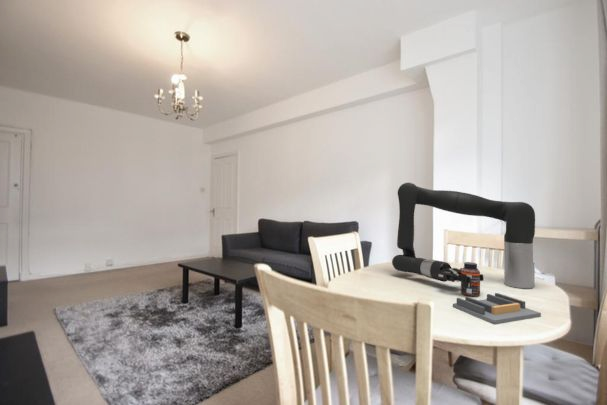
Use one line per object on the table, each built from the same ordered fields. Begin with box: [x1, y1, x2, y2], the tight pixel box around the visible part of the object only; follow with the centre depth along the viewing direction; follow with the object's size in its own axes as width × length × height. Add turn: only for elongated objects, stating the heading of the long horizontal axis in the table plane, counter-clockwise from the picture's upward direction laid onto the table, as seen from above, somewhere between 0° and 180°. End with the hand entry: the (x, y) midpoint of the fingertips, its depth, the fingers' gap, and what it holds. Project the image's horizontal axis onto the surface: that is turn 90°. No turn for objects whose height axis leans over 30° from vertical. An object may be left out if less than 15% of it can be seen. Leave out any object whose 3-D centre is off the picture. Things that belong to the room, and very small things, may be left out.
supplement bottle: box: [460, 261, 481, 298], centre depth 104 cm, size 6×6×11 cm
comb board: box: [452, 292, 542, 325], centre depth 88 cm, size 18×14×3 cm
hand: (476, 279), depth 102 cm, fingers open, 6 cm apart
